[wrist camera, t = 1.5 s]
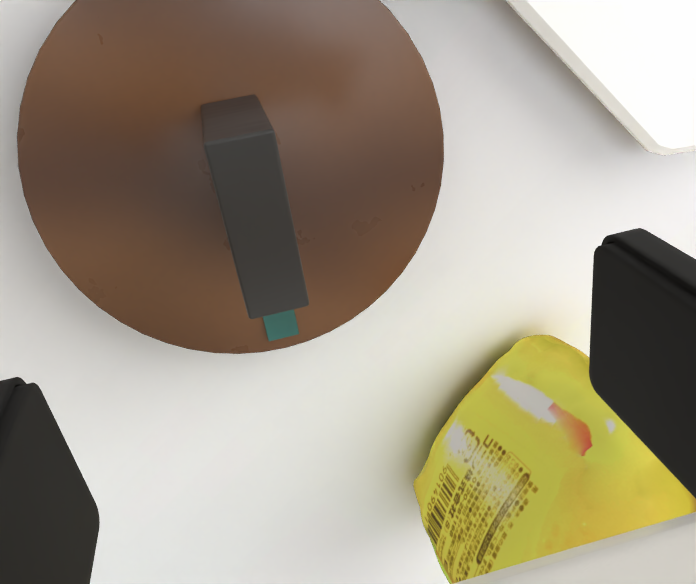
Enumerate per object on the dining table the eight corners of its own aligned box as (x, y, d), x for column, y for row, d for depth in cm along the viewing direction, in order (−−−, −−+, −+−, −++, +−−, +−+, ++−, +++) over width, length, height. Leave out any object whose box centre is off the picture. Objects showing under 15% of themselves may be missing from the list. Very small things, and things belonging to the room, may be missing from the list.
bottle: (502, 291, 28) (989, 802, 11) (602, 334, 31) (1129, 809, 14) (376, 486, 32) (592, 1095, 15) (474, 510, 35) (758, 1058, 17)
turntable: (-58, -18, 18) (-157, -11, 13) (418, -96, 19) (499, -117, 14) (106, 380, 24) (84, 488, 19) (449, 297, 26) (510, 376, 21)
